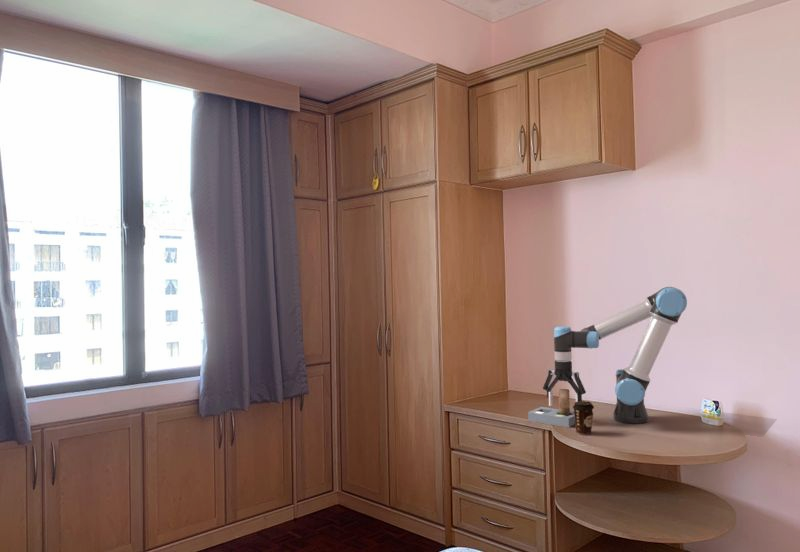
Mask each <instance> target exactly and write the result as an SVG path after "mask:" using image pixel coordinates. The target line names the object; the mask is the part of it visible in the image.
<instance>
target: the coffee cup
mask: <svg viewBox="0 0 800 552" xmlns="http://www.w3.org/2000/svg"><path fill="white" fill-rule="evenodd" d="M572 408H573V411H574V415H575V433H576V434H577V435H583V436H584V435H585V436H586V435H587V436H588V435H591V434H592V427H593V418H594V412H593V409H595V406H594V405H593V403H592V402H590V401H587V400H586V401H584V400H582V401H579V402H576V401H575V402H574V405H572Z"/></svg>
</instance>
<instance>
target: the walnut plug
mask: <svg viewBox="0 0 800 552" xmlns="http://www.w3.org/2000/svg"><path fill="white" fill-rule="evenodd" d="M570 405H571V404H570V389H567V388H560V389H558V409H559V415H565V416H569V415H570V411H571V410H570V409H571V408H570Z"/></svg>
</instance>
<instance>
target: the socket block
mask: <svg viewBox="0 0 800 552" xmlns="http://www.w3.org/2000/svg"><path fill="white" fill-rule="evenodd" d="M527 420H528V421H529V422H532V423H533V422H534V423H541V424H547V425H551V426H559V427H564V428H571V427H573V426H576V424H575V415H574V410H570V415H569V416H565V415H559V408H552V407H545V406H540V407H537V408H535V409H533V410H529V411H528V412H527Z"/></svg>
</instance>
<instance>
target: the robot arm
mask: <svg viewBox="0 0 800 552" xmlns="http://www.w3.org/2000/svg"><path fill="white" fill-rule="evenodd" d="M687 305H688V299H687V296H686V294H685V293H684V292H683V291H682V290H681V289H679V288H676V287H673V286H664V287H662V288H660V289H659V290H658V291H657V292H655V293H653V294H651V295H650V296H647V297H646V298H645V300H644V301H642V302H639V303H637V304H636V305H633V306H631V307H630V308H626V309H625V310H621V311H619V312H618V313H616V314H612V316H609V317H607V318H604V319H603V320H600V321H599V322H596V323H594V324H592V325H590V326H588V327H584V328H582V329H581V330H580V331H579V330H578V331H577V330H576V331H575V330H572V328H571V327H570V326H564V325H563V326H562V325H561V326H559V325H558V326H555V328H554V329H553V331H554V332H553V333H554V334H553V346H554V348H553V349H554V360H555V361H554V370H553V369H548V371H547V377H546V379H545V382H544V384H543V386H542V389H543V391H544V390H545V391H546V398H547V399H548V406H549V407H551V406H553V405H554V391H553V388H554V387H555V386H556V384H557V383H558V382H559V381H560V382H567V383H568V384H570V385H569V386H570V387H571V388H572V389H573V390H574V392H575V393H576V394H575V402H579V401H583V399H582V398H583V396H582V395H584V394H586V393H587V391H586V390H585V387H584V384H583V383H582V381H581V378H580V373H579V372H578V371H576V372H573V370H572V369H573V363H572V361H571V360H572V358H573V357H572V356H573V355H572V348H577V349H579V348H580V349H597V348H599V346H600V340H602V339H605V338H607V337H610V336H612V335H613V334H616V333H618V332H621V331H622V330H624V329H627V328H630V327H632V326H634V325H637V324H638V323H640V322H643V321H645V320H647V319H649V318H650V320H649V322H648V324H647V326H646V328H645V331H644V334H643V335H642V338H641V340H640V341H639V344H638V346H637V348H636V350H635V352H634V355H633V357H632V359H631V361H630V364H629V365H628V366H627V367H624V368H623V369H617V370H616V372H615V379H616V381H615V383H616V385H615V389H614V391H615V395H616V404H615V407H614V410H613V413H612V414H613V415H612V419H613V420H615V421H616V422H620V423H626V424H645V423H648V422H649V414H648V411H647V409H646V405H645V396H646V391H647V389H648V386H649V385H650V383H651V378H650V372H651V371H652V369H653V367H654V364H655V363H656V360H657V358H658V356H659V353H660V351H661V349H662V347H663V345H664V343H665V341H666V338H667V336H668V334H669V332H670V330H671V327H672V326H673V325H676V324H678V321H679V319H680V318H681V315H682V313H684V311H685V310H686V309H687V307H688V306H687ZM554 375H555V378H553V377H554ZM552 378H553V381H552ZM573 378H574V379H573Z"/></svg>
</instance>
